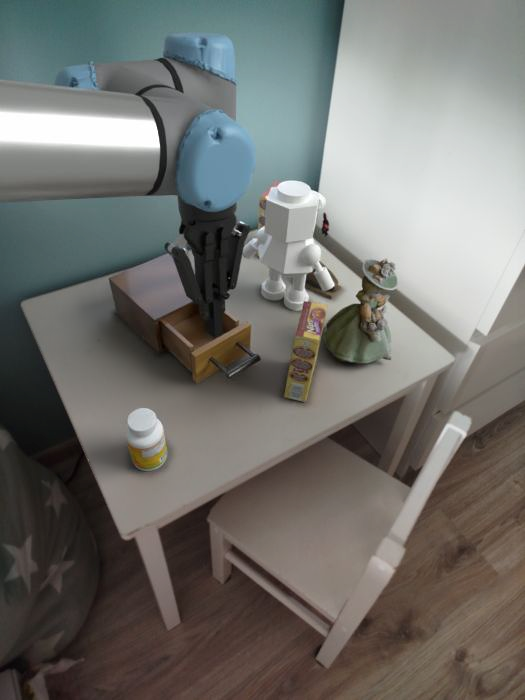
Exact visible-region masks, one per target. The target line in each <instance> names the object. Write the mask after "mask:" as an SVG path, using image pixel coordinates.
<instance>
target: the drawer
mask: <svg viewBox="0 0 525 700" xmlns="http://www.w3.org/2000/svg"><path fill="white" fill-rule="evenodd" d="M159 328H160V335H161V342H162V344H163V345H164V346H165V347H166V348H167V349H168V350H167V351H168V352H170V353H171V354H172V355H173V356H174V358H176V359H177V360H178V361H179V362H180V363H181V364H182V365H183V366H184V367H185V368H186V369H187V370H188V371H190V372H191V373H192V379H193V381H194V382H195V383H196V384H199V383H201V382H203V381H204V380H205V379H207V378H209V377H210V376H212V375H213V374H215V373H217V372H219V371H220V372H222V373H223V374H224V377H225V379H226V380H228V381H231V380H232V379H234V378H235V377H238V376H239V375H240V374H242V373H243V372H245V371H247V370H248V369H250V368H251V367H253V366H254V365H256V364H257V363H259V362H260V361H261V360H262V358H261V355H260V354H259V353H254V352H253V351H252V350H251V337H252V324H251V323H250V322H249V321H245V322H243V323H241V324H240V319H239V318H237V317H236V316H235V315H234V314H232V313H231V311H229V310H227V309H226V308H225V313H223V314H222V328H223V335H221V336H219V337H217V338H214V337H213V336H212V335H210V334H209V333H208V332H206V331H205V324H204V319H203V318H202V317H201V316H200V308H199V304H196V303H194V304H192V305H190V306H188V307H186V308H184V309H182V310H180V311H178V312H176V313H174V314H172V315H170V316H168V317H166V318H165V319H163V320H161V321H159ZM246 354H247V355H248V356H249V358H246V359H245V360H243V361H242V362H240V363H239V364H237V365H235V366H234V367H232V368H231V369H229V370H228V369H227V368H226V366H228V365H230V364H232V363H233V362H235V361H236V360H238V359H240V358H242V357H243V356H245V355H246Z"/></svg>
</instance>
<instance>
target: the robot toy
mask: <svg viewBox="0 0 525 700" xmlns="http://www.w3.org/2000/svg"><path fill="white" fill-rule="evenodd" d="M280 182H281V181H280ZM270 187H271V186H270ZM326 205H327V200H326V197H325V196H324V195H323V194H321V192H318V191H316V190H313V189H312V188H311V187H310V184H309V185H308V184H307V183H305V182H303V181H300V180H291V179H290V180H285V181H282V182H281V183H280V184H279V185H278V187H271V190H270V192H269V194H268V197H267V199H266V214H265V226H264V227H262V228H260V229H259V231H257V233H256V238H255V237H253V238H252V239H251V240H249V242H248V243H247V244H245V245H244V248H243V253H242V257H244V258H245V259H248V260H249V259H250V260H251V258H252V257H253V256H254V255H256V254H257V252H258V251H259V256H258V257H259V258H258V259H259V262H260V263H261V264H263V265H264V266H267V267H268V268H269V273H268V278H267V279H266V280H264V281H262V283H261V295H262V297H263V298H264V299H266V300H269V301H280V300H282V299H283V304H284V306H285V307H286V308H287V309H289V310H291V311H297V312H299V311H300V312H301V311H302V307H303V302H304V301H307V302H310V301H309V300H310V295H309V293H308V292H307V290H306V288H305V281H306V274H308V273H309V272H312V271H313V269H314V268H315V270H316V271H315V272H314V275H315V277H316V278H317V280H318V282H319V284H320V286H321V288H322V290H323V291H327V290H329V289H331V288H332V287H334V285H335V284H334V282H333V280H332V278H331V276H330V274H329V272H328V270H327V268H328V267H327V266H326V267H327V268H326V267H322V266H321V264H320V263H319V261H320V262H321V258H322V249H321V247H320V246H319V245H318V244H316V243H315V240H314V232H315V228H316V222H317V216H318V212H320V211H322V210H323V209H324V208H325V206H326ZM282 276H284V277H289V278H292V285H291V287H290V288H289V289H288V290H286V289H287V285H286V283H285V282H284V281H283V279H282Z"/></svg>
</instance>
